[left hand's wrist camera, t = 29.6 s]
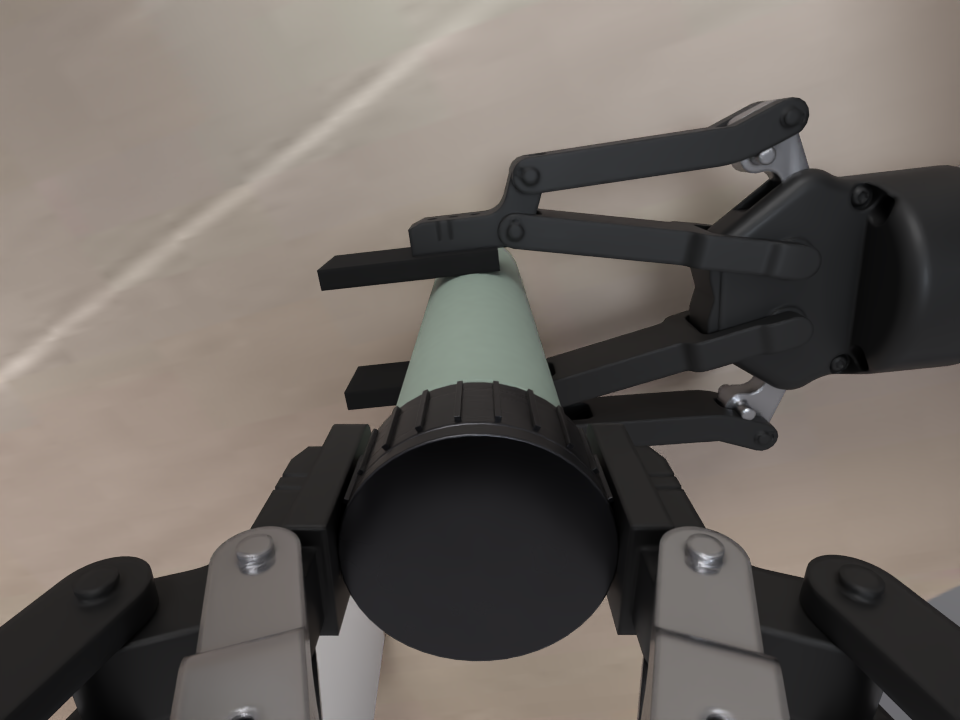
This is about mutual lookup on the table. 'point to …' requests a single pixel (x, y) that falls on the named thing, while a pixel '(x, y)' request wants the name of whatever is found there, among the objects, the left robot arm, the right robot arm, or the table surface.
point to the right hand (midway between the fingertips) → (342, 332)
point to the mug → (350, 667)
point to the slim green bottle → (479, 336)
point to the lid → (478, 524)
